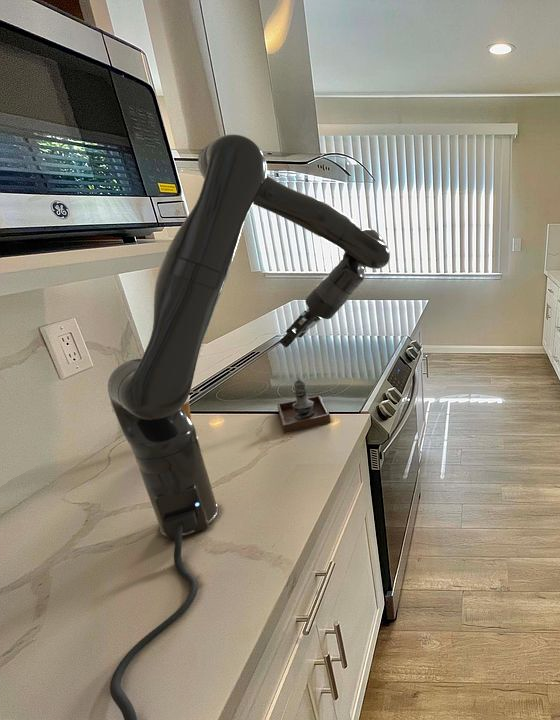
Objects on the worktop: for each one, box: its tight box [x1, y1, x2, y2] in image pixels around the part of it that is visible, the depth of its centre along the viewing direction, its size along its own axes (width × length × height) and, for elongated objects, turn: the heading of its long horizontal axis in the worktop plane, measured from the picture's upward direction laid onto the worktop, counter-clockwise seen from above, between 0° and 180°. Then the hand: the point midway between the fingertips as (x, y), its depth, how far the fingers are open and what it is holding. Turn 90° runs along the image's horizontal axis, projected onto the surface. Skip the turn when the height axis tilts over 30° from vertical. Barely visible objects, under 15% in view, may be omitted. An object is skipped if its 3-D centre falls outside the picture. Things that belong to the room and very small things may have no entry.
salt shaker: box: [292, 377, 314, 419], centre depth 116 cm, size 6×6×12 cm
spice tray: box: [276, 394, 331, 434], centre depth 117 cm, size 15×12×3 cm
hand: (290, 339), depth 103 cm, fingers open, 8 cm apart
